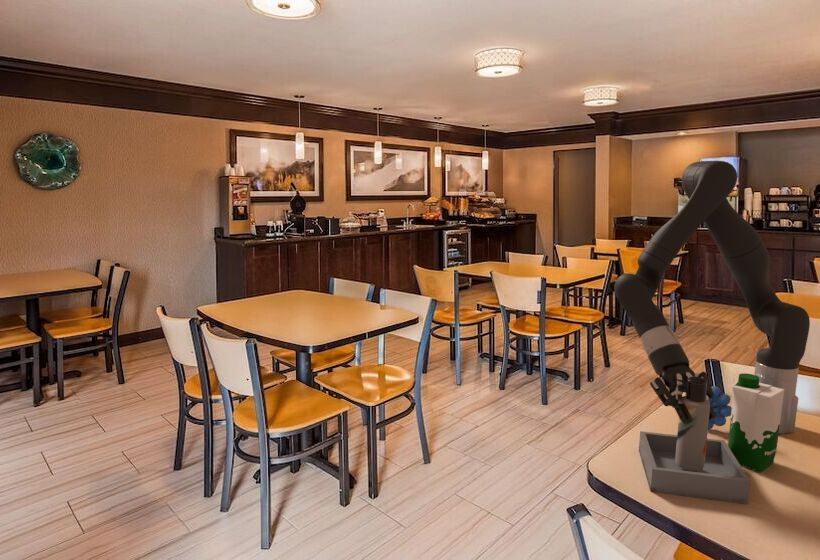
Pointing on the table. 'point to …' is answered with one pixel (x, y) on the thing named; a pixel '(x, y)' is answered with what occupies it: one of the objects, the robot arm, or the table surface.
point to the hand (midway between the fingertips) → (699, 420)
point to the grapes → (719, 408)
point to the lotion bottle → (693, 427)
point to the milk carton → (755, 422)
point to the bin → (712, 482)
